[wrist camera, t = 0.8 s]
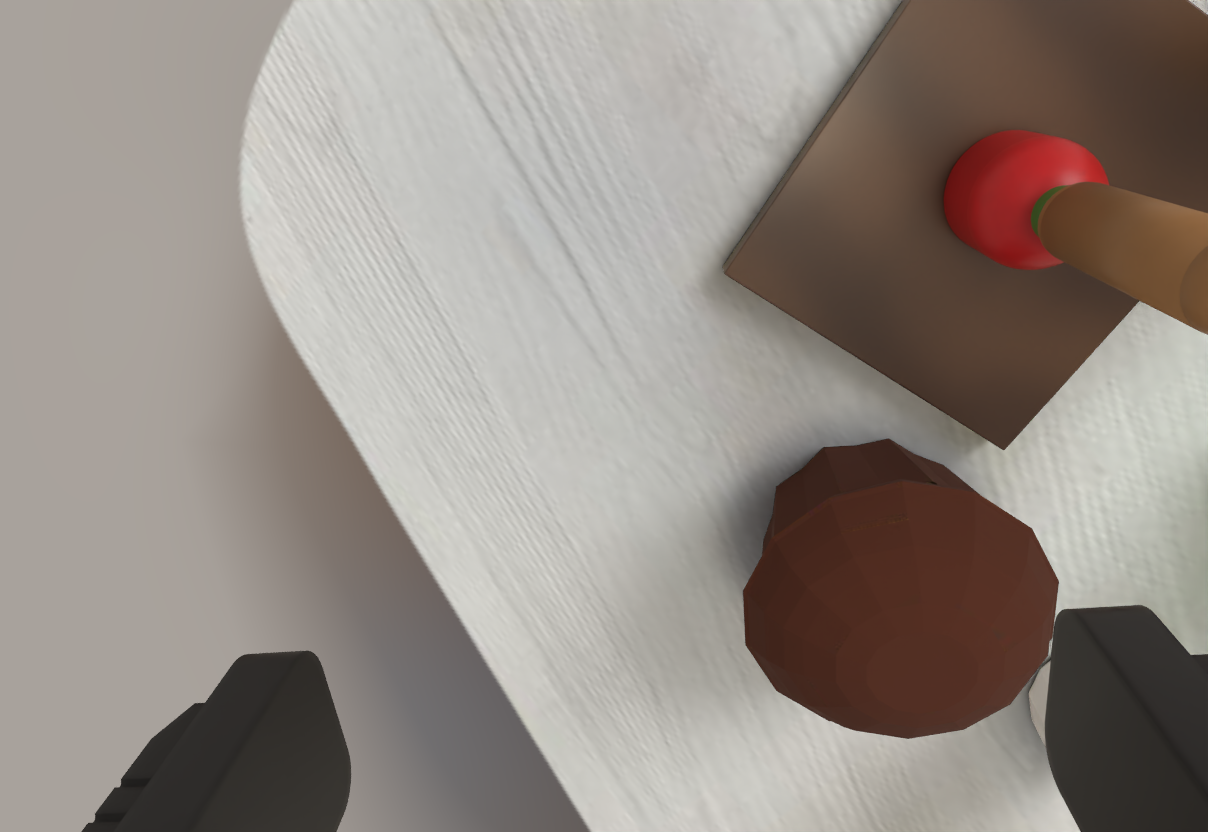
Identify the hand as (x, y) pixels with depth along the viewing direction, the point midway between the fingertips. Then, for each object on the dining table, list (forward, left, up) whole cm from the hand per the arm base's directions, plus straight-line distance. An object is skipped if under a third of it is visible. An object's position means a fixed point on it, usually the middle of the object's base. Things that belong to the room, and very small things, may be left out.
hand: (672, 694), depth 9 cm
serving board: (-8, +10, -27) cm, 30 cm away
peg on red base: (-8, +10, -26) cm, 29 cm away
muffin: (+6, +15, -27) cm, 31 cm away
